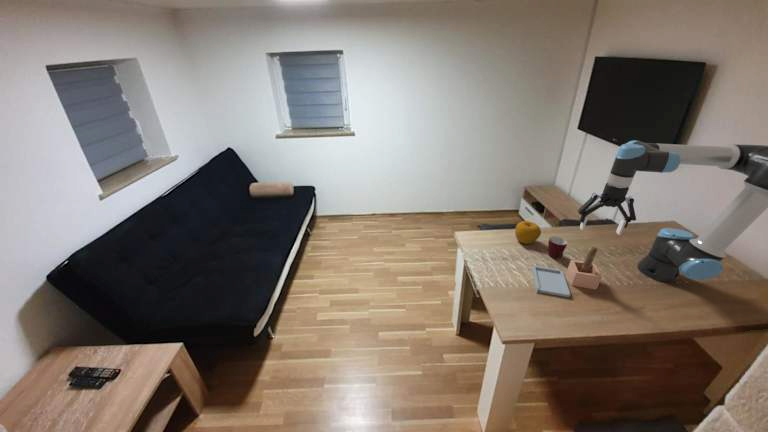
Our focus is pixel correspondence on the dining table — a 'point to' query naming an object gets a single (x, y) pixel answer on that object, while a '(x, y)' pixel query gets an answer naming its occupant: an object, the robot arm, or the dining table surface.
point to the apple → (527, 232)
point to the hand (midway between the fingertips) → (599, 231)
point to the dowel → (588, 259)
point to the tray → (550, 281)
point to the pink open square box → (583, 275)
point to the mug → (556, 247)
